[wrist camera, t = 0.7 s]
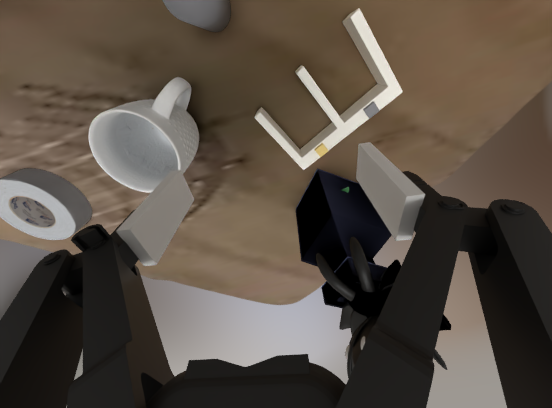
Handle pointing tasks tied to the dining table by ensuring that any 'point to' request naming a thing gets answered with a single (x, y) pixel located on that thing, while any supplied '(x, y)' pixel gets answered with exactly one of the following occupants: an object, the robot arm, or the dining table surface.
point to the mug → (146, 138)
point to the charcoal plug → (201, 12)
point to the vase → (348, 255)
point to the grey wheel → (49, 192)
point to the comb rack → (341, 124)
